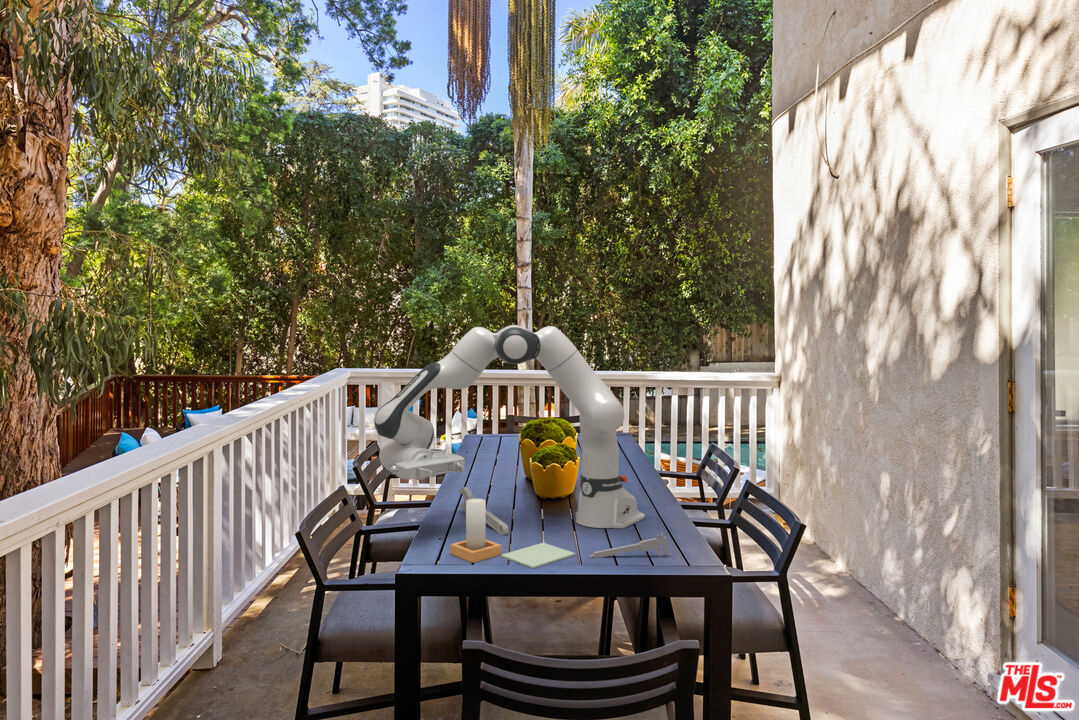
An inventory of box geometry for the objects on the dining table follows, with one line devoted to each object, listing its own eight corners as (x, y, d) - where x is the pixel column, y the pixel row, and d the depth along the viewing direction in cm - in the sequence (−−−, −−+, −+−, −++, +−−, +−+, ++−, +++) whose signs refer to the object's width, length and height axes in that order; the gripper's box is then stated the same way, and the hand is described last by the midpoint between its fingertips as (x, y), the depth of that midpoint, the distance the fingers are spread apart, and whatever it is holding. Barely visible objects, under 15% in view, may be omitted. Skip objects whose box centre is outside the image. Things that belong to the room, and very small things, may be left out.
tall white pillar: (477, 549, 191) (477, 497, 191) (489, 554, 188) (489, 501, 187) (462, 554, 188) (462, 500, 187) (474, 558, 184) (474, 504, 184)
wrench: (502, 545, 205) (457, 509, 230) (508, 544, 205) (462, 508, 231) (504, 518, 203) (458, 484, 228) (509, 517, 204) (463, 484, 229)
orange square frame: (478, 546, 195) (478, 536, 194) (501, 554, 188) (501, 545, 188) (450, 553, 188) (450, 544, 188) (472, 562, 181) (472, 553, 181)
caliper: (666, 556, 188) (667, 532, 188) (667, 557, 187) (668, 533, 187) (588, 557, 187) (589, 533, 187) (589, 559, 186) (589, 534, 185)
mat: (543, 544, 196) (543, 542, 196) (575, 555, 188) (575, 553, 188) (501, 556, 186) (501, 554, 186) (533, 568, 177) (533, 566, 177)
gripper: (386, 457, 198) (415, 465, 188) (447, 448, 212) (476, 455, 202) (386, 480, 198) (415, 489, 188) (447, 469, 213) (476, 477, 203)
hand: (447, 471), depth 195 cm, fingers open, 8 cm apart
